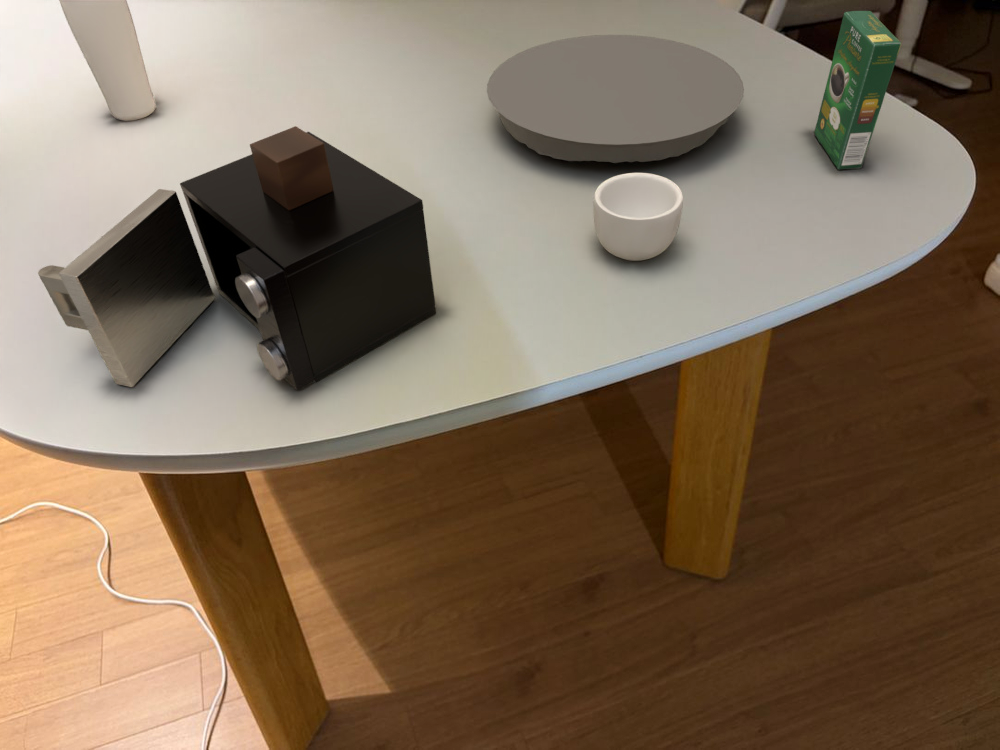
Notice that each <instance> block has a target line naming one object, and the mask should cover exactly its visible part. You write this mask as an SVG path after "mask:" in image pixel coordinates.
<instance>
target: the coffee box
mask: <svg viewBox="0 0 1000 750" xmlns="http://www.w3.org/2000/svg"><path fill="white" fill-rule="evenodd" d="M901 47H902V42H901V41H900V40H899V39H898V38H897V37H896V36H895V35H894V34H893V33H892V32H891V31H890V30H889V29H888V28H887V27H886V25H884V23H882V22H881V20H880V19H879V18H878V17H877V16H876V15H875V13H873V12H872V11H871V10H852V11H851V10H850V11H844V13H843V17H842V20H841V24H840V29H839V33H838V37H837V41H836V45H835V49H834V51H833V52H834V53H833V56H832V61H831V64H830V69H829V71H828V72H829V73H828V77H827V81H826V84H825V88H824V91H823V92H824V93H823V96H822V100H821V104H820V108H819V112H818V116H817V120H816V124H815V128H814V131H813V134H814V135H815V137H816V139H817V141H818V143H819V144H821V146H822V147H823V149H824V151H825V152H826V153H827V155H828V156H829V158H830V160H831V162H832V163H833V164H834V166H835V167H836V169H837V170H855V169H862V168H863V164H864V163H865V159H866V155H867V152H868V149H869V147H870V143H871V140H872V138H873V137H872V136H873V134H874V131H875V128H876V124H877V121H878V118H879V115H880V112H881V109H882V106H883V102H884V99H885V96H886V93H887V90H888V87H889V83H890V81H891V77H892V74H893V71H894V69H895V65H896V63H897V58H898V56H899V52H900V50H901Z"/></svg>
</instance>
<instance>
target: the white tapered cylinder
mask: <svg viewBox="0 0 1000 750" xmlns="http://www.w3.org/2000/svg"><path fill="white" fill-rule="evenodd" d="M58 1H59V5H60V7H61V10H62V13H63V15H64V17H65V20H66V22H67V25H68V26H69V29H70V31H71V33H72V35H73V37H74V39H75V41H76V43H77V45H78V47H79V49H80V52H81V54H82V56H83V57H84V59H85V61H86V64H87V66H88V67H89V69H90V71H91V73H92V75H93V77H94V79H95V82H96V83H97V85H98V88H99V90H100V92H101V94H102V96H103V98H104V101H105V103H106V105H107V107H108V111H109V112H110V114H111V116H112V117H113V118H115V119H116V120H119V121H125V122H126V121H127V122H128V121H130V122H131V121H137V120H140V119H144V118H146V117H148V116H150V115H151V114H153V113H154V112H155V110H156V108H157V103H156V100H155V96H154V94H153V91H152V88H151V84H150V80H149V77H148V73H147V70H146V65H145V61H144V58H143V54H142V49H141V45H140V42H139V38H138V34H137V30H136V26H135V23H134V19H133V16H132V13H131V9H130V7H129V4H128V1H127V0H58Z"/></svg>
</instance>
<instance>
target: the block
mask: <svg viewBox="0 0 1000 750" xmlns="http://www.w3.org/2000/svg"><path fill="white" fill-rule="evenodd" d="M306 132H307V131H304V130H303V129H301V128H300V127H298V126H296V125H295V126H292V127H289V128H288V129H285V130H282V131H279V132H277V133H275V134H272V135H269V136H267V137H265V138H262V139H260V140H257V141H254V142H252V143H250V144H249V147H250V151H251V154H252V155H253V158H254V162H255V166H256V169H257V173H258V176H259V180H260V183H261V187H262V191H263V192H264V193H266V194H267V195H268V196H270V197H271V198H272V199H274V200H275V201H277V202H278V203H279V204H281V205H282V206H283V207H285V208H286V209H288V210H292V209H294V208H297V207H299V206H301V205H303V204H305V203H308V202H310V201H312V200H314V199H317V198H319V197H321V196H323V195H326V194H328V193H330V192H332V191H334V189H333V185H332V180H331V175H330V170H329V165H328V161H327V156H326V151H325V146H324V143H323V142H321V141H319V140H318V139H316V138H314V137H313V136H311V135H309V134H308V133H306Z"/></svg>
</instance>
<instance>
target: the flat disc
mask: <svg viewBox="0 0 1000 750" xmlns="http://www.w3.org/2000/svg"><path fill="white" fill-rule="evenodd" d="M486 85H487V86H486V93H487V97H488V100H489V101H490V103H491V105H492V107H493V108H494V109H495V110H496V111H497V114H498V116H499V119H500V120H501V123H502V125H503V127H504V128H505V130H506V131H507V132H508V133H509V134H510V135H511V136H512V137H513V138H514V139H515V140H516V141H518V142H519V143H521V144H525V145H526V146H527V148H528V149H531V150H533V151H534V152H535V153H537V154H538V155H540V156H541V155H543V156H547V157H551V158H552V159H556V160H563V161H568V162H582V161H583V162H584V161H585V162H590V161H595V162H598V163H599V162H603V163H604V162H605V163H607V162H609V163H612V164H617V163H618V164H619V163H625V162H628V163H634V162H639V163H645V162H652V161H663V160H665V159H668V158H674V157H679V156H681V155H683V154H687V153H689V152H690V151H691V150H693V149H695V148H698V147H701V146H702V145H703V144H705V143H706V142H707V141H708V140H709V139H710V138H711V137H713V136H714V135H715V134H716V133H717V131H718V130H719V128H721V127H722V126H723V125H725V124H726V123H727V122H728V119H729V118H730V115H732V114H733V113H734V112H735V111H736V110H737V108H739V106H740V105H741V103H742V101H743V99H744V93H745V87H744V82H743V80H742V78H741V76H740V74H739V73H738V72H737V70H736V69H735V68H734V67H732V65H730V63H728V62H727V61H726V60H724V59H723V58H720V57H719V56H717V55H715V54H713V53H711V52H710V51H707V50H704V49H702V48H700V47H696V46H694V45H690V44H687V43H684V42H681V41H676V40H672V39H666V38H660V37H655V36H645V35H636V34H635V35H634V34H633V35H632V34H597V35H596V34H593V35H582V36H581V35H580V36H574V37H569V38H568V37H567V38H563V39H558V40H557V39H556V40H552V41H549V42H545V43H541V44H538V45H535V46H532V47H530V48H527V49H524V50H522V51H520V52H518V53H516V54H514V55H512V56H511V57H509V58H507V59H506V60H504V61H503V62H502V63H500V64H499V65H498V66H497V68H495V70H493V71H492V74H491V75H490V76H489V78H488V81H487V84H486Z"/></svg>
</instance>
